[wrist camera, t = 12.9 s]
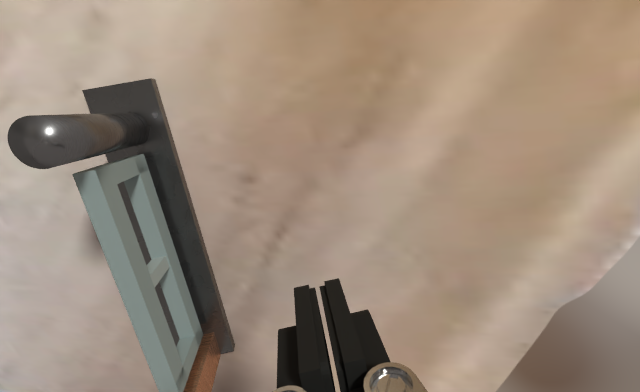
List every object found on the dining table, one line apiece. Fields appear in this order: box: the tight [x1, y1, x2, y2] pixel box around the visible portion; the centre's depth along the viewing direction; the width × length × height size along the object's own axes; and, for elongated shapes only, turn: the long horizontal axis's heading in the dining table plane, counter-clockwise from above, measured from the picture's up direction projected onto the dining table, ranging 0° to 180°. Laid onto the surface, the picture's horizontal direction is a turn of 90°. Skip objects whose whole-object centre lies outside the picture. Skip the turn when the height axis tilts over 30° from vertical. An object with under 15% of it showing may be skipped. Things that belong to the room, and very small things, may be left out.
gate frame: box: [8, 79, 235, 392], centre depth 28 cm, size 6×30×13 cm, turn 10°
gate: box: [72, 154, 203, 392], centre depth 29 cm, size 20×2×8 cm, turn 10°
